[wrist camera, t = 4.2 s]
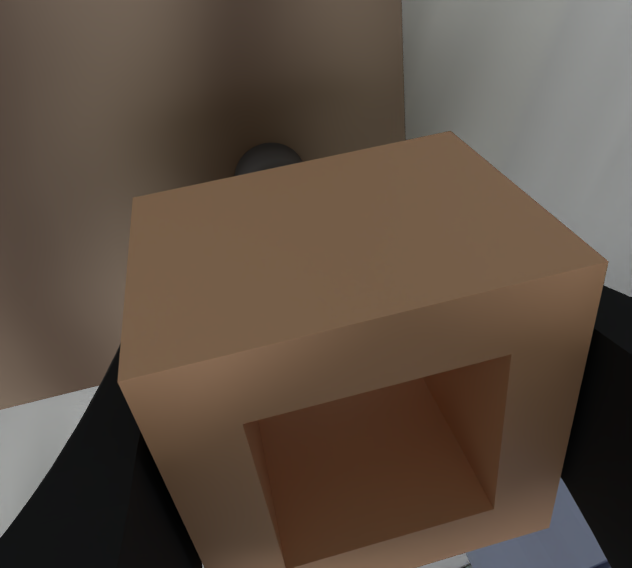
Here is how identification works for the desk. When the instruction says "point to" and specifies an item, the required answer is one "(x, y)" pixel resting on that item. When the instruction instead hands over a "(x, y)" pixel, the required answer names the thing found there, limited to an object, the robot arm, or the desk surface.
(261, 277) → the collar
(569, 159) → the desk surface
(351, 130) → the hub board
